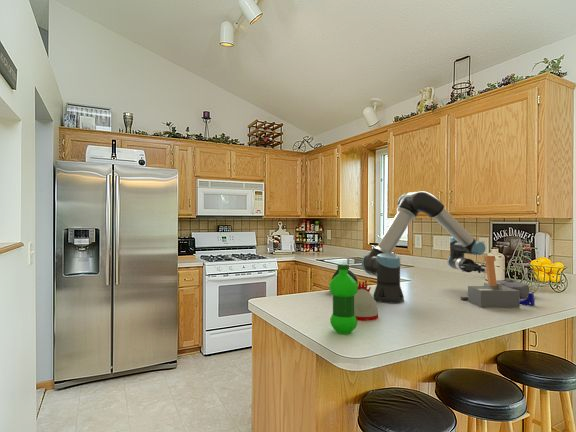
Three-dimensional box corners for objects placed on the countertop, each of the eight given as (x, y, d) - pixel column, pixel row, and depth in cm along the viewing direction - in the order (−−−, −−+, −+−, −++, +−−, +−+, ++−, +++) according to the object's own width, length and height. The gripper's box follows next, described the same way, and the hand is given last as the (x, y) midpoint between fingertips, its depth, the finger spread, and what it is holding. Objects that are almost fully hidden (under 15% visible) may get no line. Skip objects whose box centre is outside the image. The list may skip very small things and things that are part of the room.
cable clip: (534, 305, 167) (534, 292, 167) (532, 306, 164) (532, 294, 164) (506, 300, 175) (506, 289, 175) (503, 302, 172) (503, 290, 172)
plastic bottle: (331, 326, 133) (331, 262, 133) (359, 328, 130) (358, 263, 130) (327, 334, 123) (326, 265, 123) (356, 337, 120) (356, 266, 120)
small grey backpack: (532, 295, 187) (492, 290, 202) (532, 280, 187) (492, 276, 202) (522, 299, 177) (481, 293, 193) (522, 283, 177) (481, 278, 193)
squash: (363, 284, 189) (355, 262, 199) (338, 287, 186) (331, 264, 196) (356, 297, 200) (348, 275, 209) (332, 300, 196) (325, 277, 206)
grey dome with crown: (343, 311, 154) (343, 278, 155) (374, 312, 154) (374, 278, 154) (348, 320, 140) (347, 284, 141) (381, 321, 140) (381, 284, 140)
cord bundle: (463, 300, 175) (463, 297, 175) (460, 299, 178) (460, 296, 178) (504, 300, 175) (504, 298, 175) (500, 299, 178) (500, 296, 178)
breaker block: (481, 307, 160) (480, 285, 161) (468, 301, 172) (467, 281, 173) (519, 307, 160) (519, 285, 160) (503, 301, 172) (503, 281, 172)
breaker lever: (490, 287, 165) (486, 255, 168) (486, 287, 168) (483, 256, 171) (498, 287, 165) (495, 255, 168) (495, 287, 168) (491, 256, 171)
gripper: (477, 271, 194) (503, 278, 170) (454, 271, 194) (476, 278, 170) (476, 258, 194) (502, 263, 170) (453, 258, 194) (476, 263, 170)
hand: (489, 271), depth 170 cm, fingers closed
